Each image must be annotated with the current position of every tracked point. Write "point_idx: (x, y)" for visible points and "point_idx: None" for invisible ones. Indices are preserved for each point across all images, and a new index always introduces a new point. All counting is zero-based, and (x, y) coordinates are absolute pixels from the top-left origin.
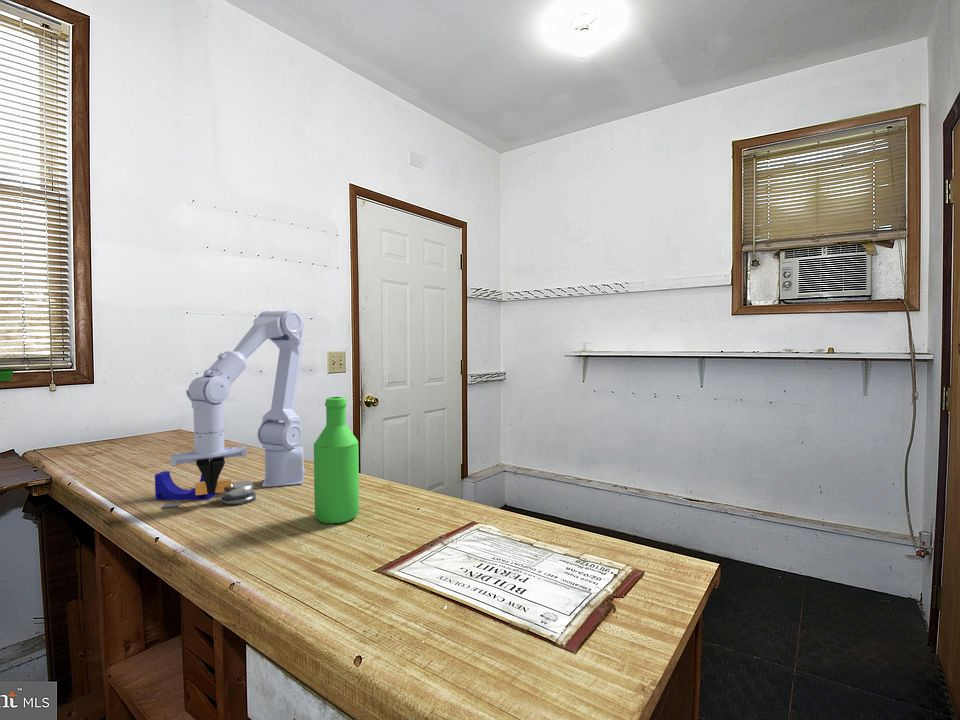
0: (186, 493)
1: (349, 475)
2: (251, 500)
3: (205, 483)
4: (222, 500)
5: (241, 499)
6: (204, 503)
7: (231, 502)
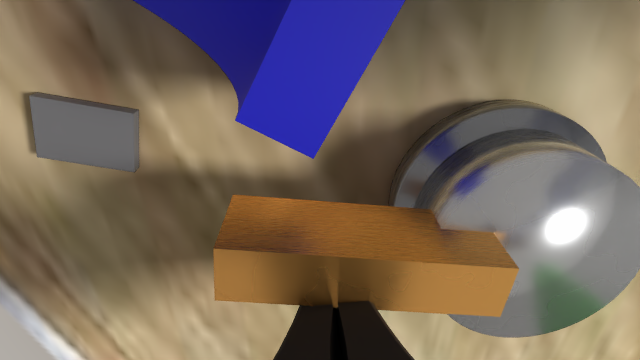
0: (136, 1)
1: None
2: None
3: (298, 310)
4: None
5: None
6: (291, 158)
7: None
